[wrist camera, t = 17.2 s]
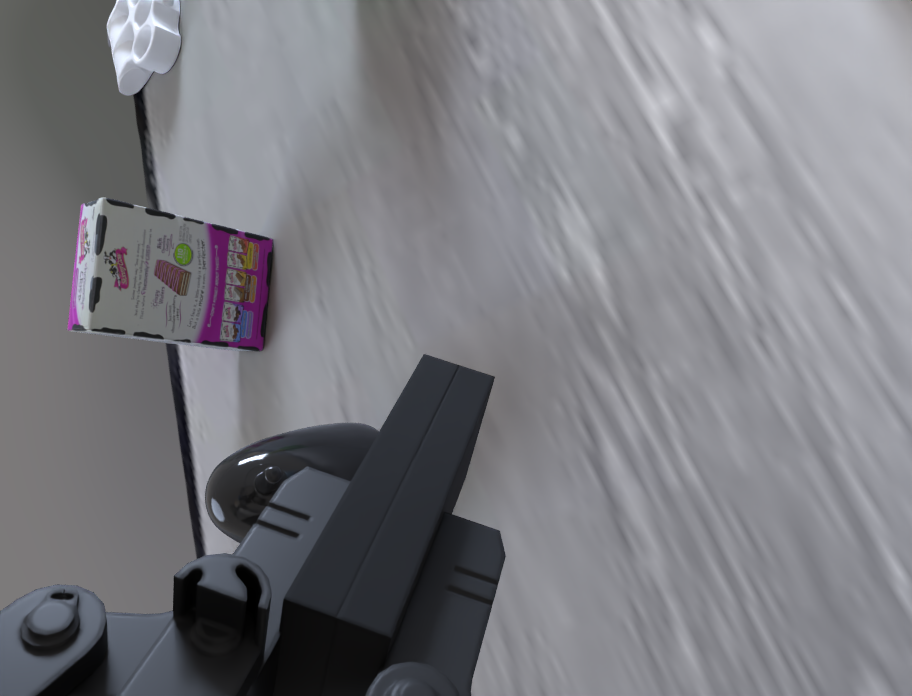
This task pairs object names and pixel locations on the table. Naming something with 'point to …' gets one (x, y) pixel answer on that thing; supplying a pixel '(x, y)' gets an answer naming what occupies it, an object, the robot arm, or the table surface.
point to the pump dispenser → (280, 470)
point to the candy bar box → (168, 278)
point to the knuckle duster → (143, 40)
